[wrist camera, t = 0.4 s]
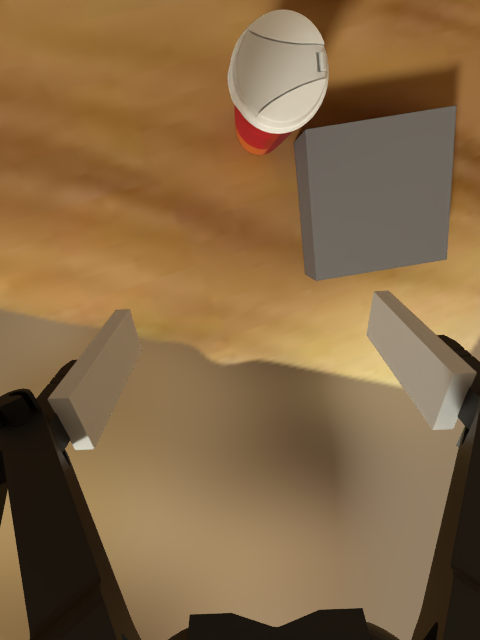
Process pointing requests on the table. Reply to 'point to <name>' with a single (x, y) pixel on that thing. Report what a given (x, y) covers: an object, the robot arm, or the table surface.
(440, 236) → the base block
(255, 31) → the paper cup
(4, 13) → the table surface
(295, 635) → the robot arm
